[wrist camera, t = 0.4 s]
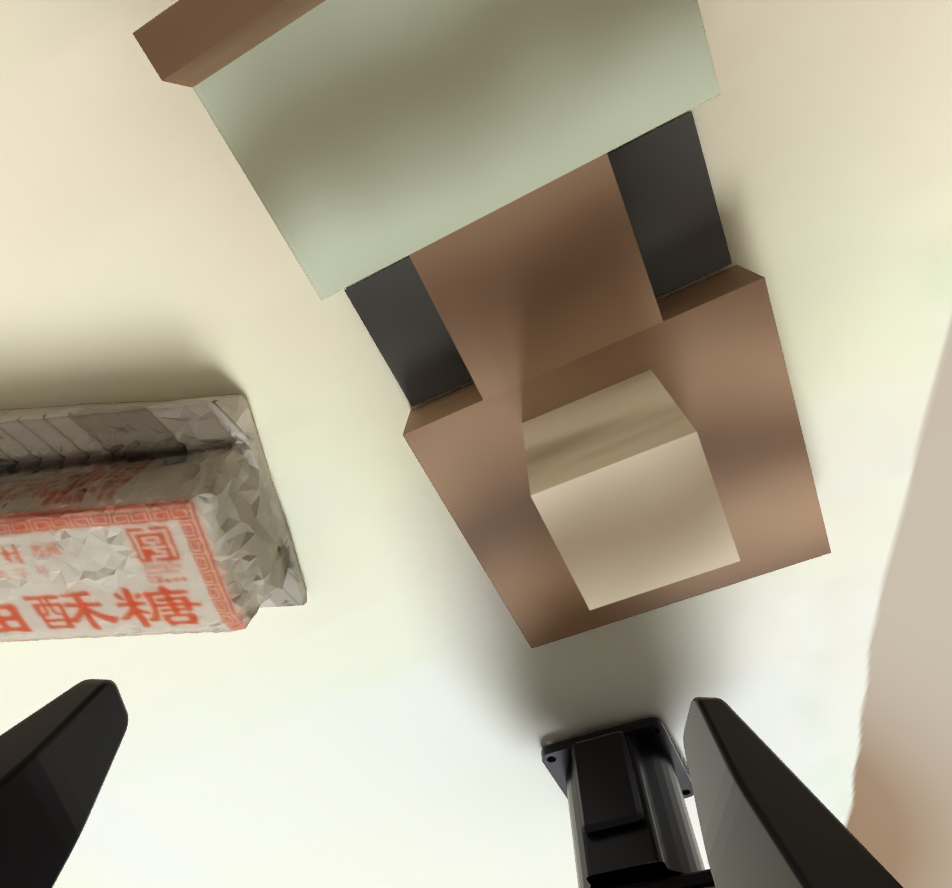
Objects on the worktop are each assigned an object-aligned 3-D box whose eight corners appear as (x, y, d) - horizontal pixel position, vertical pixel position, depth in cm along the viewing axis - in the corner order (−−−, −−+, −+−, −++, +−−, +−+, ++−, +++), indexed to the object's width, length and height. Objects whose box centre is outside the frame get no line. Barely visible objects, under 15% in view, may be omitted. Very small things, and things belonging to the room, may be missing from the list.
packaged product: (189, 441, 16) (279, 675, 21) (251, 381, 21) (315, 586, 25) (-358, 487, 18) (-160, 699, 22) (-192, 421, 22) (-55, 610, 26)
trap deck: (804, 520, 22) (854, 579, 19) (529, 613, 25) (534, 678, 22) (611, -216, 13) (649, -332, 10) (203, 56, 16) (132, 33, 13)
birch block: (689, 478, 19) (740, 561, 15) (570, 522, 20) (589, 610, 16) (650, 369, 17) (696, 431, 14) (522, 423, 18) (530, 495, 15)
